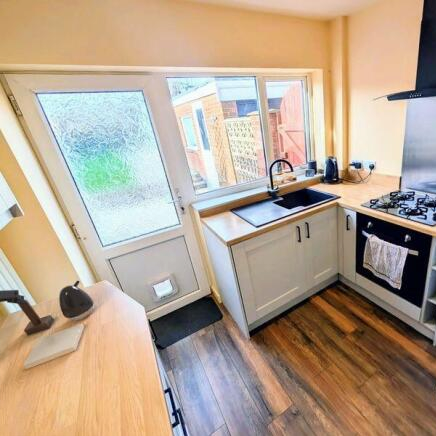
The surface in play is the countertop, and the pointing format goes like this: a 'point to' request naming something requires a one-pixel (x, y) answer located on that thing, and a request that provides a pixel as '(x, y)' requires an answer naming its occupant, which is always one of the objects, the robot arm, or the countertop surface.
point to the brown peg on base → (35, 319)
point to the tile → (54, 346)
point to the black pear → (75, 302)
